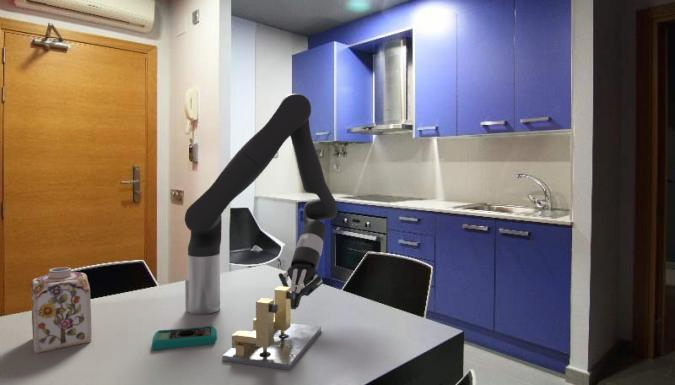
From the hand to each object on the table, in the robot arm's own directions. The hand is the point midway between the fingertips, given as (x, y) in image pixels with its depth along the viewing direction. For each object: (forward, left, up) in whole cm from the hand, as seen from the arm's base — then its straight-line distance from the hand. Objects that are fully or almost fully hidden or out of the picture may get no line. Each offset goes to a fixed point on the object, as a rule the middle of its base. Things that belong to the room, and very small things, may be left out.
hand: (292, 307), depth 111 cm
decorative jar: (-53, -21, -7) cm, 57 cm away
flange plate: (-1, -8, -7) cm, 11 cm away
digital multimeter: (-23, -13, -7) cm, 28 cm away
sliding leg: (-2, -6, -5) cm, 8 cm away
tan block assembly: (-2, -8, -5) cm, 10 cm away
